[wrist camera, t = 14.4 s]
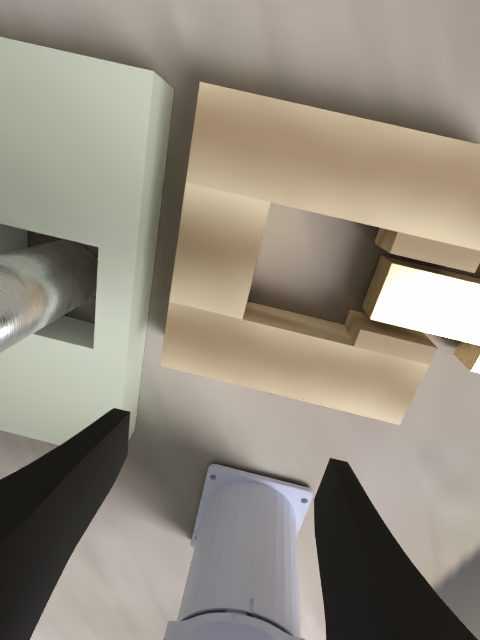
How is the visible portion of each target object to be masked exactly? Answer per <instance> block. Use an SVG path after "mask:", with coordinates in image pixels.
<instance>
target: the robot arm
mask: <svg viewBox="0 0 480 640" xmlns="http://www.w3.org/2000/svg"><path fill="white" fill-rule="evenodd" d="M129 425H130V411H125V410H121V409H117V408H113V409H111V410H110V411H108V412H107V413H106V414H104V415H103V416H101V417H100V418H99V419H97V420H96V421H95V422H93V423H92V424H90V425H89V426H87V427H86V428H85V429H83V430H82V431H80V432H79V433H77V434H76V435H74V436H73V437H72V438H70V439H69V440H67V441H66V442H64V443H63V444H61V445H60V446H58V447H56V448H55V449H53V450H52V451H50V452H48V453H47V454H45V455H43V456H42V457H40V458H39V459H37V460H35V461H34V462H32V463H30V464H28V465H27V466H25V467H23V468H21V469H20V470H18V471H16V472H14V473H12V474H10V475H8V476H6V477H5V478H3V479H1V480H0V640H30V638H31V636H32V633H33V631H34V629H35V627H36V625H37V623H38V621H39V619H40V617H41V615H42V613H43V610H44V608H45V606H46V604H47V602H48V600H49V598H50V596H51V594H52V592H53V590H54V588H55V586H56V584H57V582H58V580H59V578H60V576H61V574H62V572H63V570H64V568H65V566H66V564H67V562H68V560H69V558H70V556H71V554H72V553H73V551H74V549H75V547H76V545H77V544H78V542H79V540H80V539H81V537H82V536H83V534H84V532H85V531H86V529H87V527H88V526H89V524H90V522H91V521H92V519H93V517H94V516H95V514H96V513H97V511H98V509H99V508H100V506H101V504H102V503H103V501H104V499H105V498H106V496H107V494H108V493H109V491H110V489H111V488H112V486H113V484H114V483H115V481H116V478H117V476H118V474H119V472H120V470H121V468H122V466H123V463H124V461H125V459H126V457H127V451H128V438H129ZM212 475H215V476H212ZM302 498H306V499H302ZM312 498H313V492H312V490H311V489H310V488H308V487H304V486H300V485H296V484H292V483H288V482H284V481H281V480H277V479H273V478H269V477H265V476H261V475H257V474H253V473H249V472H245V471H241V470H237V469H233V468H230V467H226V466H222V465H218V464H211V465H210V466H209V468H208V472H207V476H206V480H205V484H204V489H203V493H202V497H201V501H200V506H199V510H198V514H197V518H196V523H195V527H194V531H193V535H192V540H191V544H190V546H191V548H193V549H194V552H193V556H192V560H191V565H190V569H189V573H188V577H187V581H186V585H185V590H184V594H183V598H182V602H181V606H180V610H179V614H178V619H177V621H169V622H168V625H167V629H166V633H165V636H164V640H305V639H304V638H301V624H300V599H299V575H298V551H297V534H298V531H299V529H300V527H301V524H302V522H303V519H304V517H305V514H306V512H307V510H308V507H309V505H310V502H311V500H312ZM314 524H315V538H316V546H317V554H318V562H319V570H320V578H321V586H322V594H323V601H324V611H325V621H326V640H478V639H477V638H476V637H475V636H474V635H473V634H472V633H471V632H470V631H469V630H468V629H467V628H466V627H465V625H464V624H463V623H462V622H461V621H460V620H459V619H458V618H457V616H456V615H455V614H454V613H453V612H452V611H451V610H450V609H449V607H448V606H447V605H446V604H445V603H444V602H443V600H442V599H441V598H440V597H439V596H438V595H437V593H436V592H435V591H434V590H433V589H432V587H431V586H430V585H429V584H428V582H427V581H426V580H425V578H424V577H423V576H422V575H421V573H420V572H419V571H418V570H417V568H416V567H415V566H414V564H413V563H412V562H411V560H410V559H409V558H408V556H407V555H406V554H405V552H404V551H403V549H402V548H401V547H400V545H399V544H398V542H397V541H396V539H395V538H394V537H393V535H392V534H391V532H390V531H389V529H388V528H387V526H386V525H385V523H384V521H383V520H382V518H381V517H380V515H379V514H378V512H377V510H376V509H375V507H374V506H373V504H372V502H371V501H370V499H369V497H368V496H367V494H366V492H365V491H364V489H363V487H362V486H361V484H360V482H359V481H358V479H357V477H356V475H355V474H354V472H353V470H352V469H351V467H350V465H349V464H348V462H345V461H341V460H336V459H332V458H330V460H329V463H328V465H327V468H326V470H325V473H324V476H323V478H322V481H321V483H320V486H319V488H318V491H317V494H316V496H315V499H314Z"/></svg>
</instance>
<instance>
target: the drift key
mask: <svg viewBox="0 0 480 640" xmlns="http://www.w3.org/2000/svg"><path fill="white" fill-rule="evenodd" d="M362 307H363V309H364V310H365V312H366V313H367V315H368V317H369V318H370V319H372V320H376V321H380V322H384V323H388V324H392V325H397V326H401V327H405V328H409V329H413V330H417V331H422V332H426V333H430V334H434V335H438V336H442V337H446V338H451V339H455V340H459V341H460V343H459V345H458V346H457V348H456V350H455V352H454V355H455V356H456V357H457V358H458V359H459V360H460V361H461V362H462V363H463V364H464V365H465V366H466V367H467V368H468V369H469V370H470V371H472V372H476V373H480V279H479V278H474V277H470V276H466V275H462V274H457V273H453V272H449V271H445V270H440V269H436V268H432V267H428V266H423V265H419V264H415V263H411V262H406V261H402V260H398V259H394V258H389V257H385V256H381V257H380V260H379V263H378V265H377V268H376V270H375V273H374V276H373V278H372V281H371V284H370V286H369V289H368V292H367V294H366V297H365V300H364V302H363V305H362Z"/></svg>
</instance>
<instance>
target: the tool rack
mask: <svg viewBox="0 0 480 640" xmlns="http://www.w3.org/2000/svg"><path fill="white" fill-rule="evenodd" d="M174 90H175V89H173V88H172V87H171V86H170V85H169V84H168V83H167V82H165V81H164V80H163V79H162V78H161V77H160V76H159V75H157V74H156V73H155V72H154V71H151V70H146V69H142V68H137V67H133V66H128V65H124V64H119V63H115V62H111V61H106V60H102V59H97V58H93V57H88V56H84V55H79V54H75V53H70V52H66V51H62V50H57V49H53V48H48V47H44V46H39V45H35V44H30V43H26V42H21V41H17V40H13V39H8V38H4V37H0V255H1V254H5V253H9V252H13V251H17V250H21V249H25V248H28V232H27V230H29V231H33V232H37V233H41V234H45V235H50V236H54V237H58V238H62V239H66V240H70V241H75V242H79V243H83V244H87V245H91V246H95V247H99V249H98V269H97V289H96V309H95V323H91V322H87V321H83V320H79V319H75V318H71V317H67V316H61V317H60V318H58V319H56V320H55V321H53V322H51V323H50V324H48V325H46V326H45V327H43V328H41V329H40V330H38V331H36V332H35V333H33V334H31V335H30V336H28V337H26V338H25V339H23V340H21V341H20V342H18V343H16V344H15V345H13V346H11V347H10V348H8V349H6V350H5V351H3V352H1V353H0V430H1V431H5V432H9V433H13V434H17V435H21V436H25V437H29V438H33V439H37V440H40V441H44V442H48V443H52V444H56V445H61V444H63V443H64V442H66V441H67V440H69V439H70V438H72V437H73V436H74V435H76V434H77V433H79V432H80V431H82V430H83V429H85V428H86V427H87V426H89V425H90V424H92V423H93V422H95V421H96V420H97V419H99V418H100V417H101V416H103V415H104V414H106V413H107V412H108V411H110V410H111V409H113V408H117V409H121V410H125V411H130V425H129V438H128V441H129V439H130V438H131V436H132V434H133V433H134V431H135V426H136V417H137V409H138V400H139V391H140V383H141V374H142V365H143V357H144V348H145V340H146V331H147V322H148V314H149V305H150V297H151V288H152V279H153V271H154V262H155V253H156V245H157V236H158V228H159V219H160V210H161V202H162V193H163V185H164V176H165V167H166V159H167V150H168V142H169V133H170V124H171V116H172V107H173V98H174Z"/></svg>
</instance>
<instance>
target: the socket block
mask: <svg viewBox="0 0 480 640" xmlns="http://www.w3.org/2000/svg"><path fill="white" fill-rule="evenodd" d="M271 202H272V203H276V204H281V205H285V206H289V207H294V208H298V209H302V210H306V211H311V212H315V213H319V214H324V215H328V216H332V217H336V218H341V219H345V220H349V221H354V222H358V223H362V224H367V225H371V226H375V227H379V231H378V233H377V236H376V239H375V242H374V243H375V244H376V245H378V246H379V247H381V248H382V249H384V250H386V251H387V252H389V253H391V254H395V255H399V256H404V257H408V258H412V259H416V260H421V261H425V262H429V263H433V264H438V265H442V266H446V267H451V268H455V269H459V270H463V271H468V272H472V273H475V272H476V270H477V268H478V266H479V264H480V144H476V143H471V142H467V141H462V140H458V139H453V138H449V137H444V136H440V135H436V134H431V133H427V132H422V131H418V130H413V129H409V128H404V127H400V126H395V125H391V124H387V123H382V122H378V121H373V120H369V119H364V118H360V117H355V116H351V115H347V114H342V113H338V112H333V111H329V110H324V109H320V108H315V107H311V106H306V105H302V104H298V103H293V102H289V101H284V100H280V99H275V98H271V97H266V96H262V95H257V94H253V93H249V92H244V91H240V90H235V89H231V88H226V87H222V86H217V85H213V84H208V83H204V82H200V84H199V91H198V98H197V106H196V113H195V120H194V127H193V134H192V141H191V149H190V156H189V163H188V170H187V177H186V184H185V192H184V199H183V206H182V213H181V220H180V227H179V235H178V242H177V249H176V256H175V263H174V270H173V278H172V285H171V292H170V299H169V306H168V313H167V321H166V328H165V335H164V342H163V349H162V356H161V364H160V366H164V367H168V368H172V369H176V370H180V371H184V372H188V373H192V374H196V375H200V376H204V377H208V378H212V379H216V380H220V381H224V382H228V383H232V384H236V385H240V386H245V387H249V388H253V389H257V390H261V391H265V392H269V393H273V394H277V395H281V396H285V397H289V398H293V399H297V400H301V401H305V402H309V403H313V404H317V405H321V406H325V407H329V408H333V409H337V410H341V411H345V412H349V413H353V414H357V415H361V416H365V417H369V418H374V419H378V420H382V421H386V422H390V423H394V424H398V425H400V423H401V421H402V419H403V417H404V415H405V413H406V411H407V409H408V407H409V405H410V403H411V401H412V399H413V397H414V395H415V393H416V391H417V389H418V387H419V385H420V383H421V381H422V379H423V377H424V375H425V373H426V370H427V368H428V366H429V364H430V362H431V360H432V358H433V356H434V354H435V352H436V350H437V347H436V346H435V345H434V344H433V343H432V342H431V341H430V340H429V338H428V337H427V336H426V335H425V334H424V333H423V332H422V331H417V330H413V329H409V328H405V327H401V326H397V325H392V324H388V323H384V322H380V321H376V320H372V319H370V318H369V317H368V315H367V314H366V313H362V312H358V311H354V310H349V313H348V316H347V319H346V321H345V324H339V323H335V322H331V321H327V320H323V319H319V318H315V317H310V316H306V315H302V314H298V313H294V312H290V311H286V310H281V309H277V308H273V307H269V306H265V305H261V304H257V303H252V302H248V298H249V294H250V290H251V285H252V281H253V277H254V273H255V268H256V264H257V260H258V256H259V251H260V247H261V243H262V239H263V234H264V230H265V226H266V222H267V217H268V213H269V209H270V205H271Z"/></svg>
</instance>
